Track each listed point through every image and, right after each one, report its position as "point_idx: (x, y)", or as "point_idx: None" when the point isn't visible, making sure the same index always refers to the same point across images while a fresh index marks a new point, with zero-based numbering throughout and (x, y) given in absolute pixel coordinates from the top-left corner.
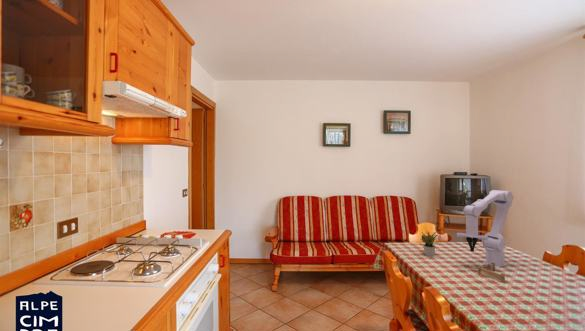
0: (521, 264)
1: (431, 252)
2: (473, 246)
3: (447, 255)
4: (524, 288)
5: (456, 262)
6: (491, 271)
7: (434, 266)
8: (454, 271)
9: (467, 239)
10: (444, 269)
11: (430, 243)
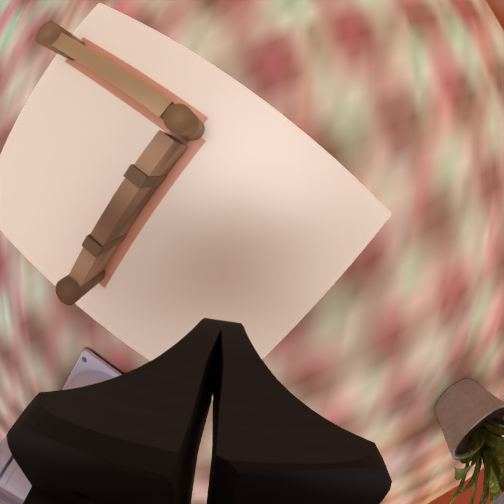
0: None
1: (467, 396)
2: (184, 354)
3: None
4: (12, 51)
5: (334, 359)
6: (98, 68)
7: (480, 190)
8: (375, 126)
9: (372, 472)
10: (434, 147)
11: (499, 434)
